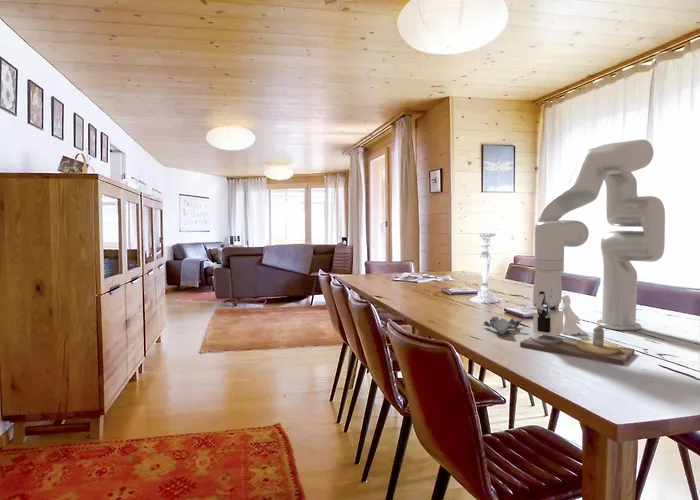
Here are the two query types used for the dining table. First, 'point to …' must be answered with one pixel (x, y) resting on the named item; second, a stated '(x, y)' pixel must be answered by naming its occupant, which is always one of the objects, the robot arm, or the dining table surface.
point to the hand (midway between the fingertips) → (548, 328)
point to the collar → (555, 323)
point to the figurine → (570, 318)
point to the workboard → (581, 347)
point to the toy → (502, 324)
